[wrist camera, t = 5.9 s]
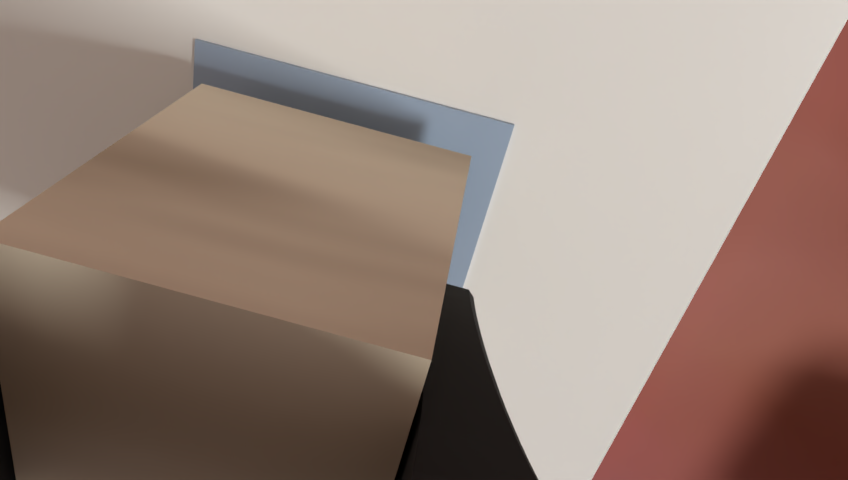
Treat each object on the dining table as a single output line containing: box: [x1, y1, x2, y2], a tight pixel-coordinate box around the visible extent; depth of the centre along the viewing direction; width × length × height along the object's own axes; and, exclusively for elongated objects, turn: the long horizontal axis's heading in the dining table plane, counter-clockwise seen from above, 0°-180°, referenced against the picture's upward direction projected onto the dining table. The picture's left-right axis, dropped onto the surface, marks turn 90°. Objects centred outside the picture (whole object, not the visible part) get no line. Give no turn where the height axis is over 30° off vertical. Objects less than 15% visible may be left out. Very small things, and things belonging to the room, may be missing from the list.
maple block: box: [0, 84, 471, 480], centre depth 10 cm, size 4×4×5 cm
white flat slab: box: [0, 0, 848, 480], centre depth 13 cm, size 18×14×1 cm
